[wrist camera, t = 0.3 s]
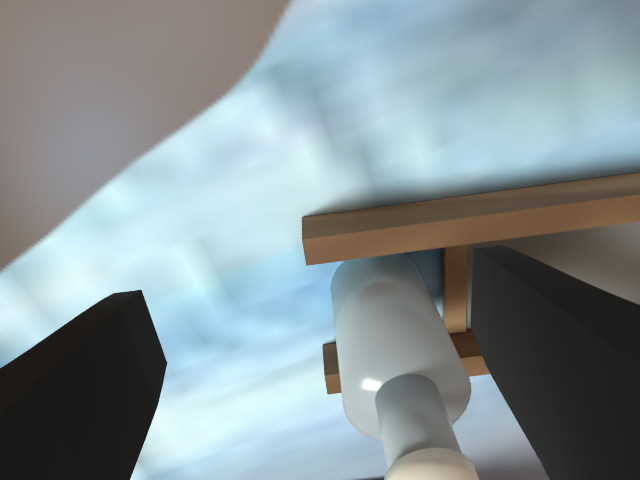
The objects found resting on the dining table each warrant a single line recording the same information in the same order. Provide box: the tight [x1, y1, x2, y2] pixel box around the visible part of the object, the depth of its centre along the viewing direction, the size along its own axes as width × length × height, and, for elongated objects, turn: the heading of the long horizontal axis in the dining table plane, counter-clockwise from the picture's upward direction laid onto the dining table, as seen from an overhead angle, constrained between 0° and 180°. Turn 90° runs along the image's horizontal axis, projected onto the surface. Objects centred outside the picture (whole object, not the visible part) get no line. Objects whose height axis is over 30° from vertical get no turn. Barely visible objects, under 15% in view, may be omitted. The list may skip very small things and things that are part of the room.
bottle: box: [331, 253, 479, 480], centre depth 17 cm, size 4×4×11 cm
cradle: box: [302, 172, 640, 394], centre depth 20 cm, size 8×21×4 cm, turn 97°
